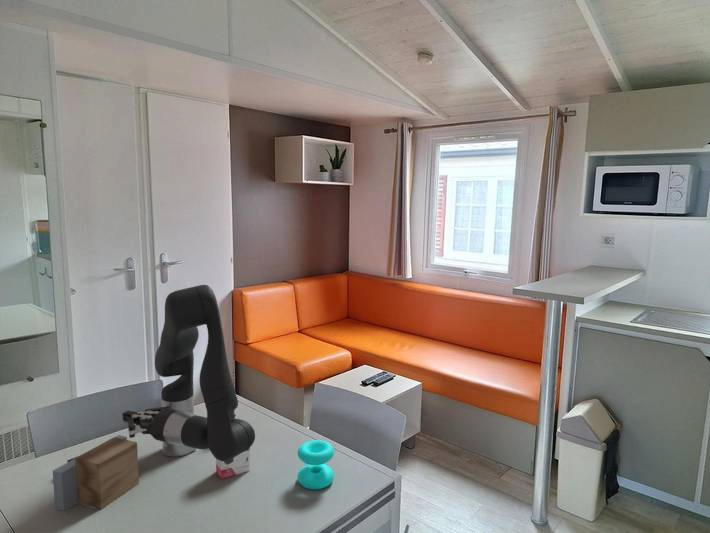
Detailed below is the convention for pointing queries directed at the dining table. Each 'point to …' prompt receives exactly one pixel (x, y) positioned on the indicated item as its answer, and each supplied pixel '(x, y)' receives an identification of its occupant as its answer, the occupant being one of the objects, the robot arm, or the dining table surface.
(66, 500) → the slate board
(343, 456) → the dining table surface
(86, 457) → the walnut block
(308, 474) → the turquoise spool
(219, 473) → the ink box
